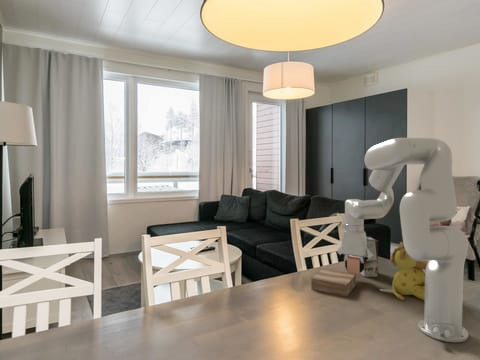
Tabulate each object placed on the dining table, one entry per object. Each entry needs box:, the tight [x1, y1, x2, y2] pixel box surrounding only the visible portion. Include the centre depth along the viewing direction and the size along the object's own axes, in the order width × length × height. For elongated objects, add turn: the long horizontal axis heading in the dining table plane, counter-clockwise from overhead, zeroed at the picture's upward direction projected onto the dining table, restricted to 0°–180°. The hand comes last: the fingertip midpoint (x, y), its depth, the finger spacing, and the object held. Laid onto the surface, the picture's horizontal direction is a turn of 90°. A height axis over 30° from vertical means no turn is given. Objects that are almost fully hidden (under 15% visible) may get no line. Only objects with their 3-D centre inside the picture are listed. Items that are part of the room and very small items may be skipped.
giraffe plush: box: [379, 241, 428, 301], centre depth 126 cm, size 20×24×19 cm
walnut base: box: [310, 268, 357, 297], centre depth 132 cm, size 14×14×4 cm
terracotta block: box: [346, 255, 361, 275], centre depth 139 cm, size 5×5×6 cm
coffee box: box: [357, 236, 379, 278], centre depth 148 cm, size 9×6×16 cm
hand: (354, 269), depth 139 cm, fingers closed on terracotta block, 4 cm apart
